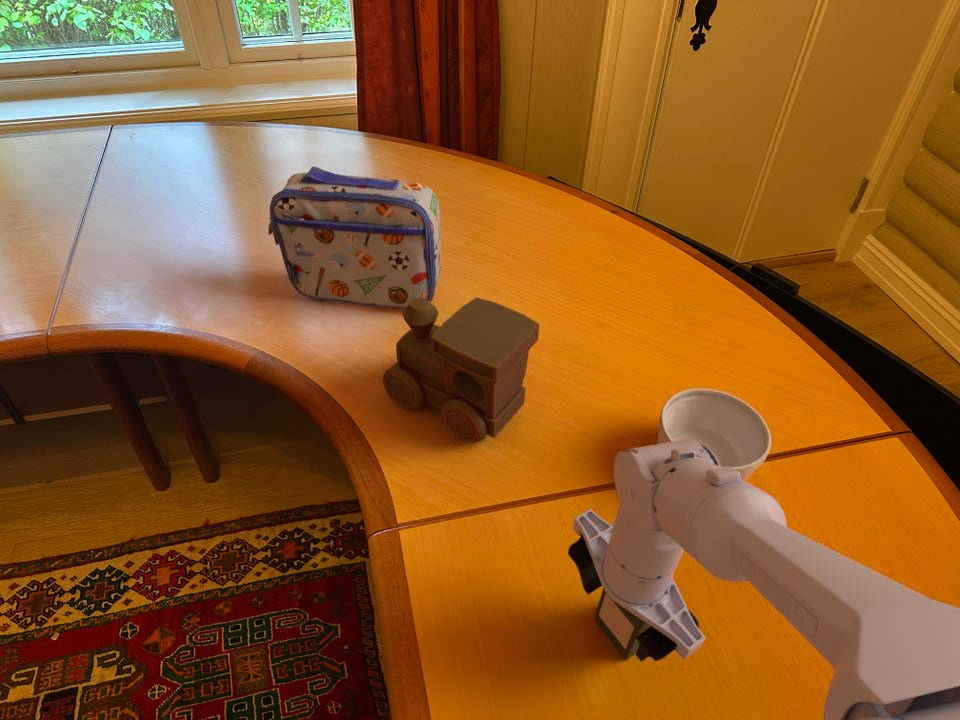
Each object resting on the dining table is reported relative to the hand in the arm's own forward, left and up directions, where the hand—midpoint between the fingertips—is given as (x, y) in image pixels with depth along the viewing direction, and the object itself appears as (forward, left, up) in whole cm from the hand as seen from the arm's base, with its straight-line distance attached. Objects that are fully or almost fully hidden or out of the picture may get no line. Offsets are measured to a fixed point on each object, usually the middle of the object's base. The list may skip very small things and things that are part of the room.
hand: (618, 618), depth 60 cm
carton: (0, -3, 0) cm, 3 cm away
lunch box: (+68, -3, -5) cm, 68 cm away
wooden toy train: (+37, -3, -5) cm, 37 cm away
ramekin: (+11, -25, -5) cm, 28 cm away
